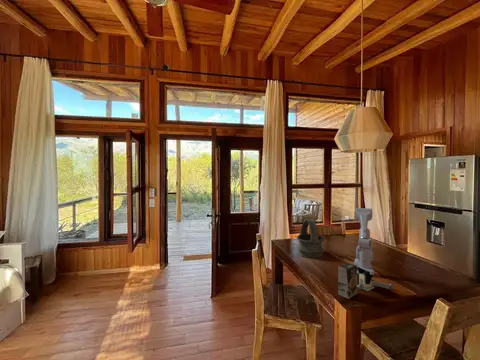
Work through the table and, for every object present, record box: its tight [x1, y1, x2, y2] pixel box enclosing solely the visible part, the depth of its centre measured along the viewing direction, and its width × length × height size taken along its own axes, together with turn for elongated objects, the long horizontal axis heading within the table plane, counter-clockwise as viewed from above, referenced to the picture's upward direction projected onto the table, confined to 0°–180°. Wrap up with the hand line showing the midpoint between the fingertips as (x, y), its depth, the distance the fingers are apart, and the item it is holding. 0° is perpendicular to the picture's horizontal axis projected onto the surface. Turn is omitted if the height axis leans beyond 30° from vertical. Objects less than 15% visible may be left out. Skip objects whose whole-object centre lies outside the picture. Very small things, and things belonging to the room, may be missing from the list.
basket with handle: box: [296, 218, 325, 259], centre depth 201 cm, size 22×23×30 cm
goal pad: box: [357, 284, 376, 292], centre depth 142 cm, size 7×7×1 cm
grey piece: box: [358, 280, 394, 291], centre depth 141 cm, size 6×19×3 cm, turn 87°
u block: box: [358, 273, 373, 287], centre depth 142 cm, size 4×5×6 cm
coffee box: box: [337, 262, 358, 300], centre depth 134 cm, size 9×6×16 cm
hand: (365, 281), depth 142 cm, fingers closed on u block, 5 cm apart
